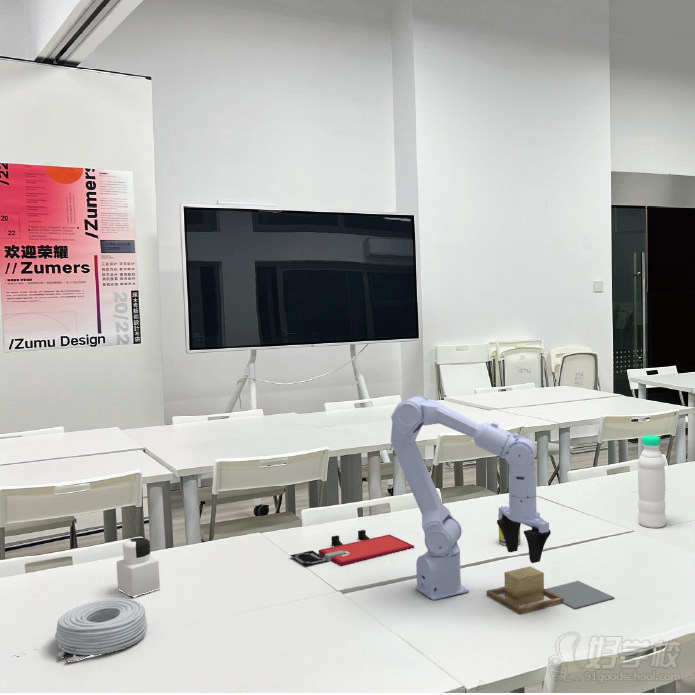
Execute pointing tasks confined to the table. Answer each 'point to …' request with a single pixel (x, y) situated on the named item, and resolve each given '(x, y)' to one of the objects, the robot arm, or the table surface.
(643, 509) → the water bottle
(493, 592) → the wooden frame
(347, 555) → the red board with handle
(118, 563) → the medicine bottle
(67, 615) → the cable
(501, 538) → the supplement bottle
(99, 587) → the table surface
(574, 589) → the mat
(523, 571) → the tan box
